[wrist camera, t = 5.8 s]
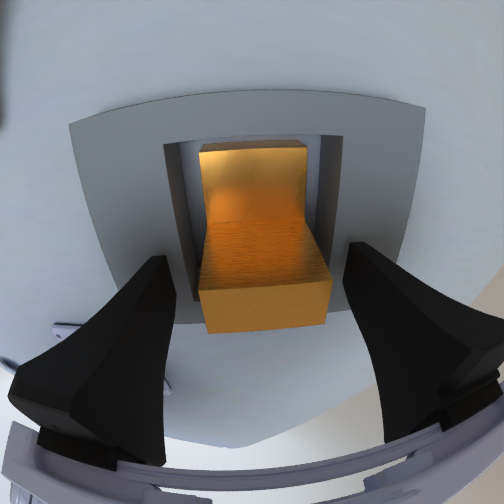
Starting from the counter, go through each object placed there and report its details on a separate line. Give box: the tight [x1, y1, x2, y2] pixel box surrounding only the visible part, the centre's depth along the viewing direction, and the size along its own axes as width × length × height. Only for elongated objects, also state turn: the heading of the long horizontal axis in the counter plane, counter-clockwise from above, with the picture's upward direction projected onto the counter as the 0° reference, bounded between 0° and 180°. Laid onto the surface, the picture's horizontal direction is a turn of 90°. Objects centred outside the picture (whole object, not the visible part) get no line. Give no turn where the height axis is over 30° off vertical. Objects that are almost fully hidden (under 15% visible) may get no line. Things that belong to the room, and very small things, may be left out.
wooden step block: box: [198, 140, 333, 334], centre depth 10 cm, size 5×4×6 cm
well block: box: [69, 90, 426, 324], centre depth 11 cm, size 10×13×2 cm
